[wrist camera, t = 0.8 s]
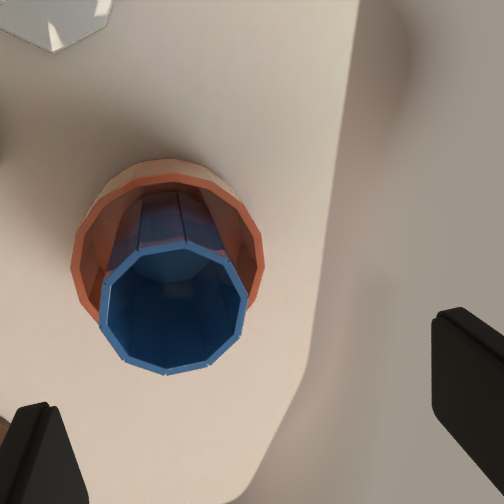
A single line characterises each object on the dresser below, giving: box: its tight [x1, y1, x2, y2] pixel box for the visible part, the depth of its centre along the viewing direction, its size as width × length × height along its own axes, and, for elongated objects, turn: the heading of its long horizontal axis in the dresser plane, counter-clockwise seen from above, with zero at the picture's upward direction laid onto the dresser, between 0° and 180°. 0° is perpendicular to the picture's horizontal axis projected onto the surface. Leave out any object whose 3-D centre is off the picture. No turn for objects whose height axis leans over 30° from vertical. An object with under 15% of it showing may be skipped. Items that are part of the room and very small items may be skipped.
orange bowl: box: [70, 158, 265, 323], centre depth 29 cm, size 11×11×6 cm
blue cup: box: [98, 191, 249, 376], centre depth 27 cm, size 7×7×11 cm
